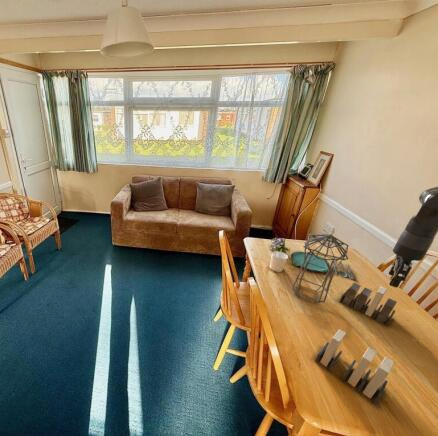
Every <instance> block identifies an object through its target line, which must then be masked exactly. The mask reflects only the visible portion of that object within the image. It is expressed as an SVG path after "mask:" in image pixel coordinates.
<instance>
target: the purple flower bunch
mask: <svg viewBox="0 0 438 436" xmlns="http://www.w3.org/2000/svg"><path fill="white" fill-rule="evenodd" d="M270 242H271V244H270V250H274V249H275V250H276V251H279V252H283V253H285V254H286V253H287V252H290V251H291V248H288V247H286V238H282V237H279V238H278V237H274V238H271V240H270Z"/></svg>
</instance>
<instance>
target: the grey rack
mask: <svg viewBox="0 0 438 436" xmlns="http://www.w3.org/2000/svg"><path fill="white" fill-rule="evenodd" d="M360 288H362V285H360V284H359V283H356V282H353V283H352V284H351V285H350V286H349V288H348V289H346V290H345V292H344V293H343V294H341V296H340V299H339V301H338V303H342V304H345V305H346V306H349V308H350V309H352V308H353V309H354V310H356V311H358V312H360V314H364V312H366V311H367V309H368V307H369V305H370V304H371V302H372V299H371V298H370V297H371V294H372V293H373V290H372V289H369V288H368V287H364V288H363V289H362V290H361V292H360ZM397 303H398V301H397V300H395V299H392V298H390V297H389V298H387V300H386V301H385V303H384V304H382V303H381V304H380V305H379V306H378V307H377V309H376V310H375V311H374V313H373V314H372V316H373V317H371V320H376V321H378V322H380V323H381V324H384V326H385V327H388V324H390V323H391V321H392V320H393V316H394V315H395V313H396V310H395V309H394V308H395V307H396V305H397Z"/></svg>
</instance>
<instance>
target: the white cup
mask: <svg viewBox="0 0 438 436" xmlns="http://www.w3.org/2000/svg"><path fill="white" fill-rule="evenodd" d="M288 259H289V255H288V254H286V253H283V252H281V251H280V252H279V251H275V250H274V251H272V252H271V256H270V262H269V269H271V270H272V271H274V272H276V273H282V272H283V271H284V268H285V267H286V264H287V261H288Z"/></svg>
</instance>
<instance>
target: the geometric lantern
mask: <svg viewBox="0 0 438 436" xmlns="http://www.w3.org/2000/svg"><path fill="white" fill-rule="evenodd" d="M311 237H312V238H311ZM322 241H323V242H322ZM318 243H319V245H318V246H316V247H315V248H314V249H313V248H311V247H313V246H315V245H316V244H318ZM326 243H327V245H326ZM343 246H346V247H345V248H344V247H343ZM324 247H325V248H326V252H325V253H323V252H321V250H322V249H323V248H324ZM303 248H304V251H303V252H304V262H303V265H302V267H301V266H300V269H299V272H298V274H297V275H296V278H295V280H294V282H293V285H292V288H291V290H292V291H293V292H294V293H295V294H296V297H298V298H300V297H302V298H305V299H307V300H309V301H313V303H314V304H317V303H324V302H326V299H327V296H328V293H329V291H330V287H331V284H332V281H333V278H334V274H335V269H336V270H337V268H338V267H339V266H340V263H342V261H347V260H349V257H348V255H347V253H348V249H349V244H347V243H346V242H344V241H342V240H340V239H339V238H337V237H335V236H334V235H332V234H328V233H323V234H322V233H321V234H320V233H319V234H307V240H306V241H304V246H303ZM333 248H336V249H337V251H338V253H339V254H340V256H336V255H334V252H333ZM307 250H308V251H307ZM329 250H330V252H331V254H332V255H330V254H329ZM309 253H311V256H310V258H309V260H308V262H307V260H306V259H307V257H308V254H309ZM312 255H314V256H315V257H316V258H315V259H317V258H318V259H322V260H325V262H326V264H327V267H328V269H327V268H324V267H321V266H318V265H315V264H312V263H309V262H310V259H311V257H312ZM317 256H321V257H322V258H319V257H317ZM323 258H324V259H323ZM315 259H313V260H315ZM326 260H327V261H331V263H330V264H329V265H330V267H329V266H328V263H329V262H328V263H327V261H326ZM311 261H312V260H311ZM338 261H339V263H338V264H337V262H338ZM305 262H307V263H306V266H305V268H303V266H304V264H305ZM333 262H335V264H334V263H333ZM308 264H312V265H315V266H318V267H321V268H324V269H327V270H328V272H326V274H325V276H324V279H323V281H322V283H321V285H320V284H318V283H316V282H313V281H310V280H307V279H304V275H305V273H306V271H307V269H306V268H307V266H308ZM332 266H333V267H332ZM335 267H336V268H335ZM302 270H303V271H302ZM330 272H331V273H330ZM301 273H302V274H301ZM300 275H301V277H300ZM329 275H330V277H329ZM298 280H299V282H298ZM302 281H304V282H307V283H310V284H312V285H315V286H317V287H318V288H317V289H316V290H315V289H312V288H310V287H306V286H303V285H302ZM296 284H297V289H296V290H295V289H294V288H295V286H296ZM326 285H327V286H326ZM301 288H304V289H308V290H311V291H314V292H313V293H314V294H316V299H315V298H313V297H310V296H308V295H306V294H303V293H301V292H300V291H299V290H300V289H301ZM321 288H322V289H321ZM320 289H321V291H319V290H320ZM324 292H325V293H324ZM319 293H320V295H319ZM323 294H324V296H323ZM322 297H323V299H322Z"/></svg>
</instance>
